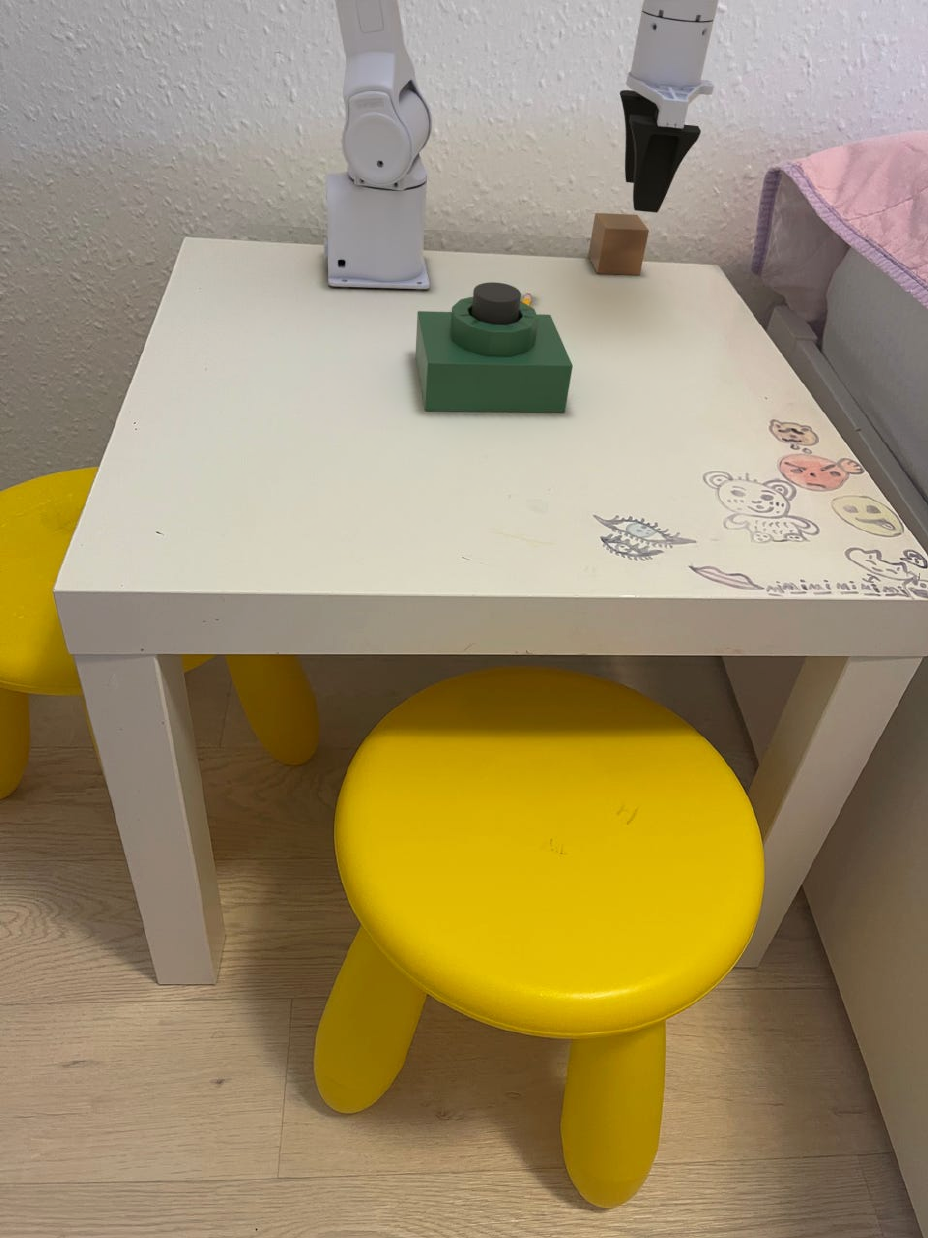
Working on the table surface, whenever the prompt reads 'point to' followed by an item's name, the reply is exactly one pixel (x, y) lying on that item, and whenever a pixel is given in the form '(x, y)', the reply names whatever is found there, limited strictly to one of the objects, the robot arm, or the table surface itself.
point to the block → (617, 243)
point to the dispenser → (491, 362)
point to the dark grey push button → (496, 303)
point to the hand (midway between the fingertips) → (641, 195)
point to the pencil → (527, 299)
